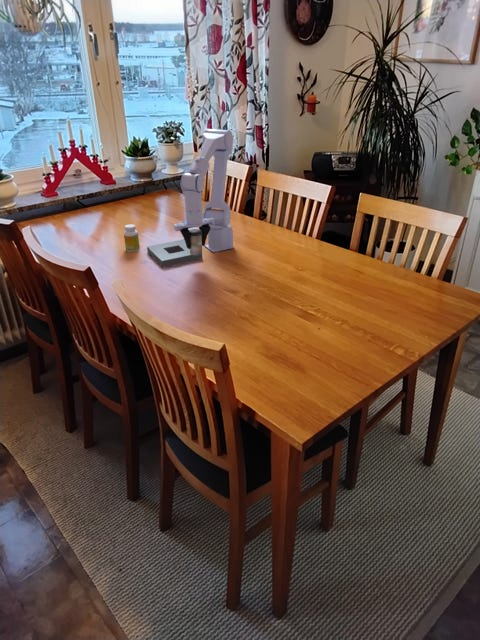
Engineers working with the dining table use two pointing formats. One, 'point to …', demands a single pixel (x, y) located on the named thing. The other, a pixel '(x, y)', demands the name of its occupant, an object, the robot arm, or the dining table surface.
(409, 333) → the dining table surface
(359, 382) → the dining table surface
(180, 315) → the dining table surface
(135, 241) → the supplement bottle
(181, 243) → the socket block
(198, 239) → the capped peg
